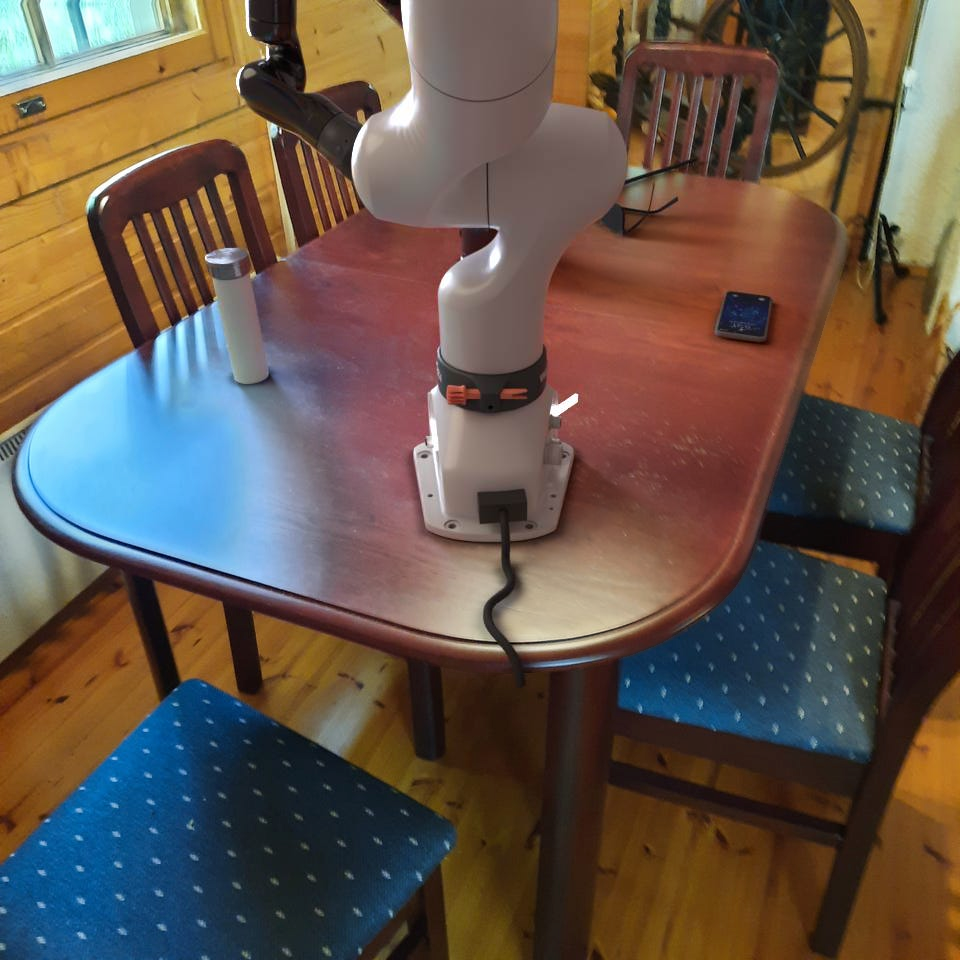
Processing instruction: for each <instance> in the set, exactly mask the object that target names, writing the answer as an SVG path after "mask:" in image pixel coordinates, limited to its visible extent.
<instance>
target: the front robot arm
mask: <svg viewBox="0 0 960 960" xmlns="http://www.w3.org/2000/svg"><path fill="white" fill-rule="evenodd" d="M401 8H402V19H403V28H404V30H403V33H404V40H405V45H406V51H407V56H408V57H407V58H408V62H409V69H410V77H411V79H410V81H411V88H410V90H408V92H407V93H406V94H405V95H404V96H403V97H402V98H401V99H400V100H399V101H397V102H395V103H394V104H393V105H391V106H389V107H388V108H385V109H383V110H382V111H379V112H377V113H374V114H372V115H370V116H369V118H368V119H366V121H365V122H364V124H362V125H363V127H362V128H361V130H360V132H359V134H358V136H357V139H356V141H355V145H354V148H353V154H352V176H353V180H354V184H355V185H354V184H353V185H354V187H355V190H356V193H357V195H358V197H359V199H360V201H361V202H362V204H363V205H364V207H365V208H366V210H367V211H368V212H369V213H370V214H371V215H372V216H373V217H374V218H375V219H377V220H379V221H383V222H388V223H392V224H397V225H403V226H409V227H413V228H419V229H460V228H489V225H490V228H494V229H496V230H498V234H497V235H496V237H495V238H494V239H493V241H492V242H490V243H489V244H488V245H487V246H486V247H484V248H482V249H481V250H479V251H477V252H475V253H473V254H471V255H469V256H467V257H465V258H463V259H461V258H460V260H458V261H457V262H455V264H454V265H452V266H451V267H450V268H449V269H448V270H447V271H446V273H445V274H444V275H443V277H442V278H441V281H440V283H439V286H438V290H437V307H438V324H439V326H438V327H439V340H440V341H439V342H440V345H439V346H438V348H437V354H436V356H437V358H436V363H435V364H436V376H437V384H436V385H435V387H434V386H433V388H432V389H431V390H430V391H428V392H427V406H428V407H427V409H428V424H429V435H426V436H425V438H424V442H422V443H419V444H417V445H416V446H415V447H414V448H413V454H412V455H413V457H412V458H413V464H414V470H415V475H416V476H415V477H416V480H417V487H418V492H419V498H420V499H419V500H420V503H421V504H420V505H421V510H422V516H423V522H424V526H425V529H426V530H427V531H428V532H429V533H432V534H434V535H437V536H440V537H443V538H448V539H452V540H457V541H466V542H477V543H478V542H480V543H501V544H500V545H501V549H500V551H501V552H500V556H501V557H500V559H501V560H500V561H501V568H502V572H503V574H504V576H505V578H506V582H505V584H504V586H503V587H502V588H501V589H500V590H498V591H497V592H496V593H495V594H493V595H492V596H491V597H490V598H489V599H488V600H487V601H485V604H484V605H483V609H482V611H483V612H482V621H483V625H484V628H485V629H486V631H487V632H488V633H489V635H490V636H491V637H492V638H493V639H494V640H495V642H496V643H497V644H498V645H499V646H500V647H501V649H502V650H503V651H504V653H505V655H506V656H507V659H508V660H509V663H510V665H511V668H512V671H513V676H514V681H515V684H516V687H518V688H524V687H525V686H526V677H525V672H524V668H523V665H522V662H521V661H522V660H521V659H520V656H519V655H518V653H517V651H516V649H515V647H514V646H513V645H512V643H511V642H510V641H509V640H508V638H507V637H506V636H505V635H504V634H503V632H501V631H500V629H499V628H498V627H497V626H496V623H495V621H494V619H493V610H494V608H495V607H496V606H497V605H498V604H499V603H501V602H502V601H504V600H505V599H506V598H507V597H509V596H510V595H511V593H512V592H513V591H514V589H515V587H516V582H517V579H516V575H515V573H514V571H513V568H512V565H511V564H512V563H511V542H518V541H527V540H531V539H536V538H539V537H543V536H546V535H548V534H550V533H552V532H554V531H556V530H557V527H558V525H559V520H560V518H561V517H560V516H561V512H562V508H563V504H564V500H565V497H566V492H567V488H568V483H569V480H570V476H571V472H572V469H573V468H572V467H573V464H574V459H575V450H574V447H573V446H571V445H570V444H568V443H566V442H563V441H561V439H560V438H558V430H560V429H561V428H562V416H559V415H560V414H562V413H563V412H565V411H566V410H568V408H571V407H572V406H574V405H575V404H577V403H578V397H579V394H577V393H574V394H573V395H571V396H570V397H569V398H567V399H566V400H565V401H562V402H561V403H560V404H559V392H557V391H556V390H555V389H554V388H553V387H552V386H551V385H550V384H549V383H548V382H547V379H548V367H549V361H548V356H547V355H548V354H547V353H548V351H547V347H546V345H545V344H544V332H545V331H544V330H545V329H544V328H545V316H546V307H547V298H548V292H549V287H550V282H551V279H552V276H553V274H554V272H555V269H556V267H557V265H558V264H559V262H560V261H561V259H562V257H563V256H564V254H565V252H566V251H567V249H568V248H569V247H570V246H571V245H572V243H573V242H574V241H575V240H576V239H577V238H578V237H579V236H580V235H581V234H582V233H583V232H584V231H585V230H587V228H589V227H590V226H591V225H593V224H594V223H596V222H597V221H600V220H599V219H600V218H602V217H603V216H604V215H605V214H606V213H607V212H608V211H609V210H610V209H611V208H612V207H613V205H614V204H615V203H617V201H618V199H619V197H620V195H621V194H622V191H623V188H624V186H625V185H624V183H625V180H627V172H628V152H627V147H626V143H625V138H624V136H623V135H622V132H621V130H620V128H619V127H618V125H617V123H616V122H615V121H614V119H613V118H612V117H611V116H610V115H609V114H608V113H607V112H606V111H602V110H597V109H594V108H589V107H583V106H580V105H574V104H568V103H562V102H552V101H553V96H554V89H555V77H556V76H555V75H556V61H557V60H556V59H557V47H558V35H559V33H558V32H559V15H560V14H559V10H560V9H559V0H401Z"/></svg>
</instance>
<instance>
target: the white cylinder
mask: <svg viewBox="0 0 960 960" xmlns="http://www.w3.org/2000/svg"><path fill="white" fill-rule="evenodd" d="M250 272H251V271H250ZM250 272H249V273H247V274H246V275H244V276H241V277H238V278H233V279H216V278H213V277H211V279H212V284H213V288H214V289H213V290H214V293H215V297H216V302H217V307H218V311H219V315H220V320H221V324H222V329H223V333H224V338H225V343H226V347H227V351H228V356H229V360H230V365H231V369H232V374H233V378H234V379H233V380H234V381H236V382H237V383H238V384H243V385H253V384H258V383H260V382H262V381H265V380H266V379H267V378H268V377H269V375H270V371H269V367H268V361H267V355H266V351H265V350H266V349H265V346H264V339H263V335H262V330H261V325H260V319H259V315H258V309H257V303H256V299H255V294H254V289H253V283H252V279H251V278H252V277H251V273H250Z"/></svg>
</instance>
